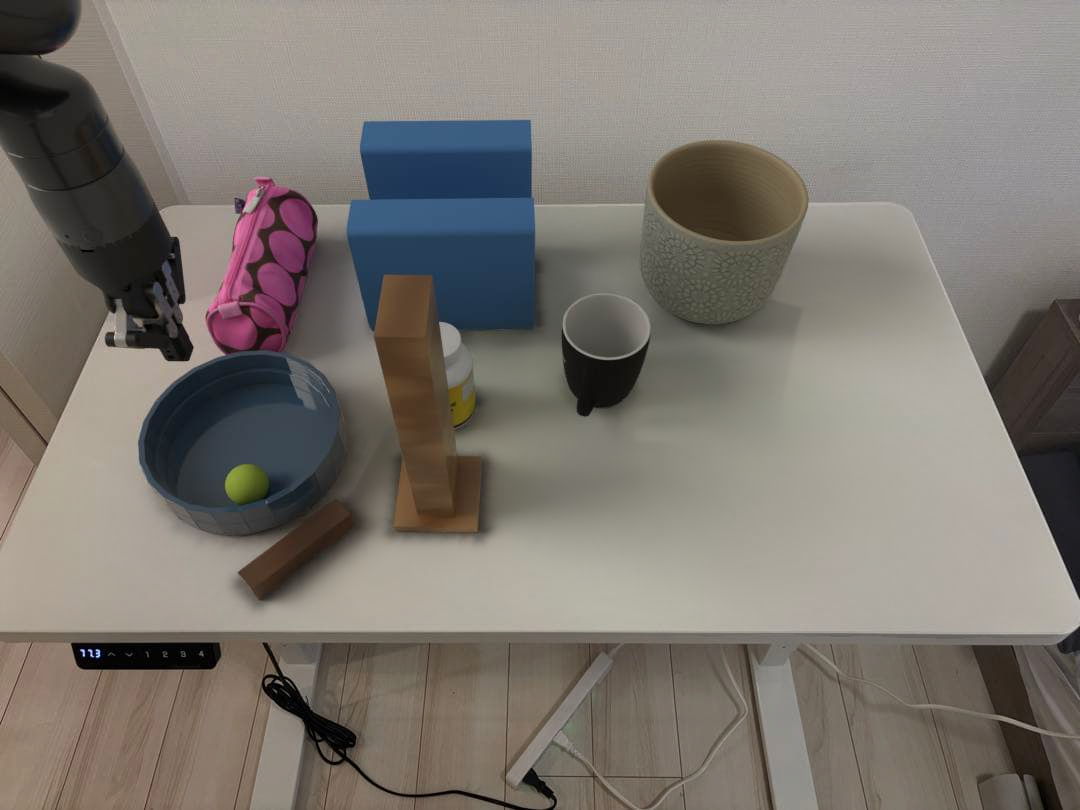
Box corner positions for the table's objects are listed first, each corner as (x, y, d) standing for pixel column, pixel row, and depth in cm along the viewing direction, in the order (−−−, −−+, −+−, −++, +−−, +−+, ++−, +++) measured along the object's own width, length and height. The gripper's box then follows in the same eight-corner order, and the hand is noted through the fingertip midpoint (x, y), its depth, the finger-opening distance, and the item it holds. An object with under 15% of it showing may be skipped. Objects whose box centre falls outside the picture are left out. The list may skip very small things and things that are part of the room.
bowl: (235, 575, 74) (218, 552, 70) (120, 460, 81) (98, 433, 77) (386, 445, 83) (379, 418, 79) (270, 351, 90) (258, 322, 86)
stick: (351, 513, 75) (355, 525, 77) (335, 497, 76) (340, 509, 78) (251, 590, 71) (259, 600, 73) (236, 572, 72) (244, 582, 74)
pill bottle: (403, 411, 85) (388, 342, 76) (445, 375, 88) (435, 304, 79) (447, 444, 83) (436, 377, 73) (488, 406, 86) (484, 336, 76)
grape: (242, 495, 80) (247, 520, 77) (214, 473, 77) (217, 499, 74) (274, 471, 80) (280, 495, 77) (247, 449, 77) (251, 473, 74)
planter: (782, 345, 91) (822, 246, 79) (635, 341, 91) (652, 241, 79) (762, 243, 101) (794, 140, 89) (629, 240, 101) (643, 137, 89)
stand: (395, 531, 77) (339, 347, 54) (404, 461, 82) (355, 264, 59) (477, 532, 77) (456, 348, 54) (481, 462, 82) (463, 265, 59)
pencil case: (248, 236, 101) (223, 172, 93) (325, 235, 101) (307, 170, 93) (214, 369, 88) (182, 307, 80) (301, 367, 89) (278, 306, 80)
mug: (573, 345, 91) (577, 283, 83) (649, 366, 89) (661, 305, 81) (538, 427, 84) (539, 368, 76) (619, 451, 83) (629, 394, 74)
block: (388, 242, 100) (364, 118, 86) (530, 240, 101) (530, 116, 86) (375, 353, 90) (345, 232, 75) (534, 350, 90) (535, 230, 76)
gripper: (80, 153, 64) (161, 302, 78) (15, 270, 56) (118, 413, 70) (174, 154, 64) (238, 303, 78) (122, 272, 56) (203, 414, 70)
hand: (181, 355), depth 74 cm, fingers closed
